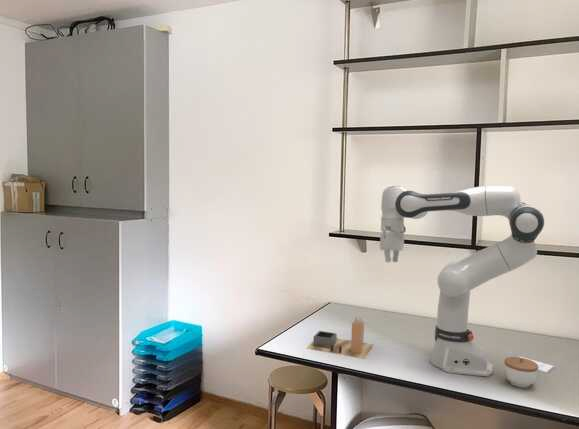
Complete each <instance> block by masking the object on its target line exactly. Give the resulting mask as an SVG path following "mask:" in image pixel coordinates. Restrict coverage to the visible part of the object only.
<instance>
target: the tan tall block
mask: <svg viewBox="0 0 579 429" xmlns="http://www.w3.org/2000/svg"><path fill="white" fill-rule="evenodd" d="M364 334H365V321H364V320H363V317H362V316H360V317H359V319H358V316H355V317H354V320H353V321H352V322H351V340H350V341H351V352H352V353H358V354H361V353H362V351H363V343H364V336H365V335H364Z"/></svg>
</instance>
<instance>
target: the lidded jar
mask: <svg viewBox="0 0 579 429" xmlns="http://www.w3.org/2000/svg"><path fill="white" fill-rule="evenodd" d="M520 357H521V356H509V357H506V358H504V361H503V362H504V368H503V369H504V374H505V376H506V378H507V380H508V381H509V383H510V384H511V385H512V386H515V387H518V388H521V389H522V388H525V389H526V388H529V387H530V386H531V385H533V384H534V382H535V381H536V380H537V376H538V373H539V372H538V365H537V363H535V362H533V361H531V360H532V359H531V360H529V359H530V358H527V359H525V358H526V357H524V358H520Z"/></svg>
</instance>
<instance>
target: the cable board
mask: <svg viewBox="0 0 579 429" xmlns="http://www.w3.org/2000/svg"><path fill="white" fill-rule="evenodd" d="M313 342H314V340H312V342H311V343H310V344H309V345H308V346H307V347H305V349H307V350H311V351H312V350H313V351H317V352H323V353H330V354H335V355H340V356H346V357H352V358H358V359H363V360H364V359H366V357H368V356H367V355H368V354H369V353H370V351H371V349H372V348H373V346H374V345H375V344H373V343H368V342H363V351H362V353H361V354H358V353H352V352H351V340H349V339H343V338H337V340H336V344H335V345H331V349H329V348H323V347H317V346H313Z"/></svg>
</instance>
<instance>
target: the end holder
mask: <svg viewBox="0 0 579 429" xmlns="http://www.w3.org/2000/svg"><path fill="white" fill-rule="evenodd" d="M337 334H338V333H336V332H330V331H324V330H323V331H322V330H319V331H318V332H317V333H315V335H314V336H313V341H314V342H313V341H312V342H313V346H317V347H323V348H329V349H331V345H335V344H336V340H337V339H338V338H337V336H338V335H337Z"/></svg>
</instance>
